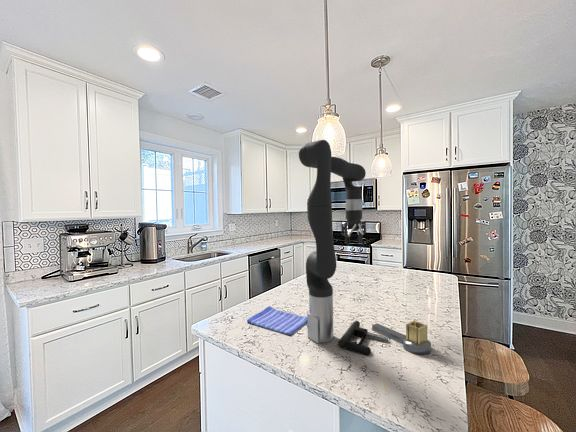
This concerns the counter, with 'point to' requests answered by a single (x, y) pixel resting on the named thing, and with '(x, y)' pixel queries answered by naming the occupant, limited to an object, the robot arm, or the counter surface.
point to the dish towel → (278, 321)
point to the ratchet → (403, 340)
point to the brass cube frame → (416, 333)
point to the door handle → (363, 333)
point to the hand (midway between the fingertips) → (354, 243)
